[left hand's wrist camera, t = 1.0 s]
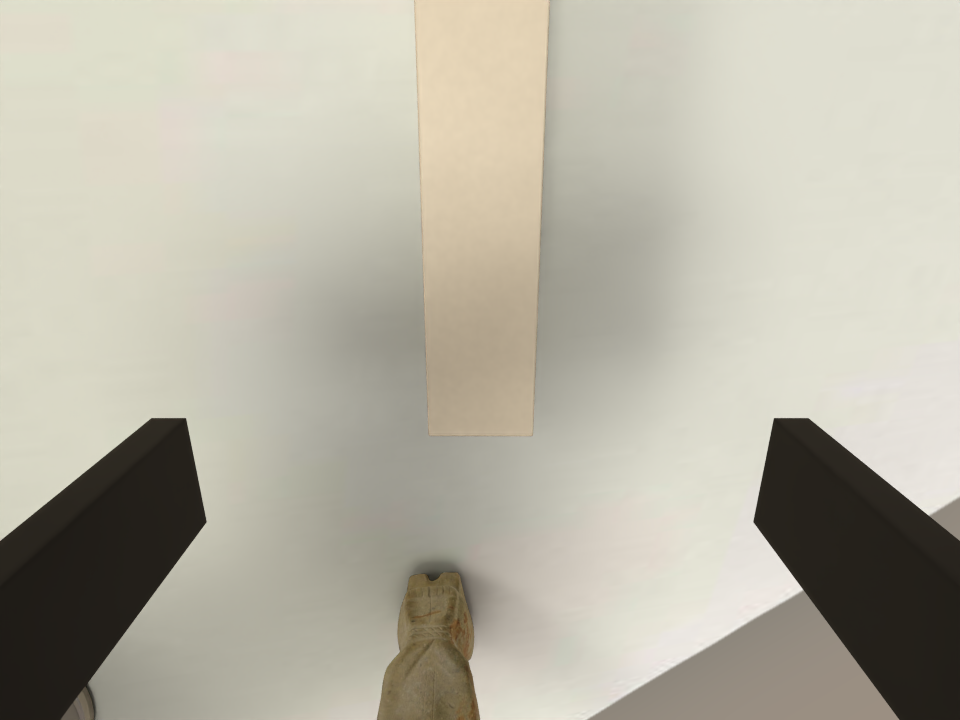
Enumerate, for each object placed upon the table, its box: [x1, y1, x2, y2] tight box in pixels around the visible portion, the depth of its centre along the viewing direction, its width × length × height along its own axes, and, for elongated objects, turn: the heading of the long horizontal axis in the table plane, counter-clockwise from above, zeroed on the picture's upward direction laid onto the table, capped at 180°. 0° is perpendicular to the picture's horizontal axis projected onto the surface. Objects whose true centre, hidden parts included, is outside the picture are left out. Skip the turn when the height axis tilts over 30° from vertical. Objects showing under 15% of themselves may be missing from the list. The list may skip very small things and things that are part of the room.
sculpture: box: [377, 572, 480, 720], centre depth 33 cm, size 6×7×15 cm
